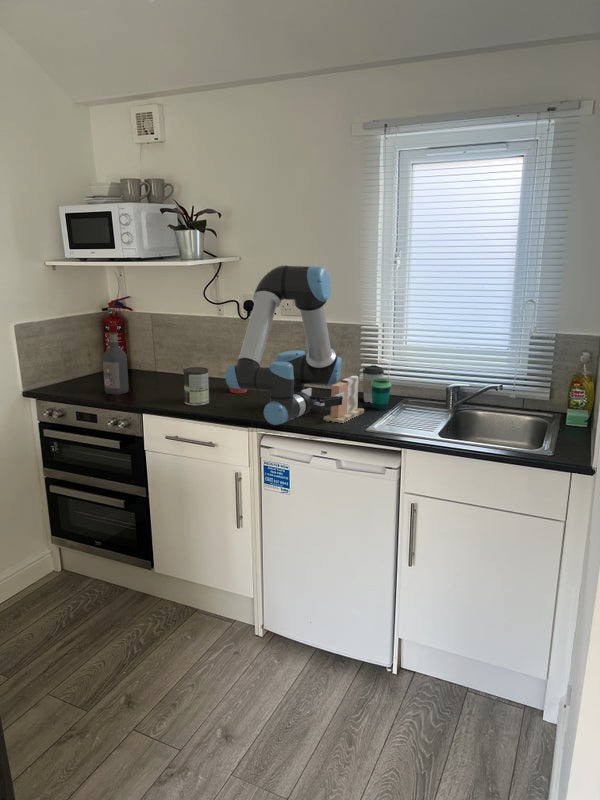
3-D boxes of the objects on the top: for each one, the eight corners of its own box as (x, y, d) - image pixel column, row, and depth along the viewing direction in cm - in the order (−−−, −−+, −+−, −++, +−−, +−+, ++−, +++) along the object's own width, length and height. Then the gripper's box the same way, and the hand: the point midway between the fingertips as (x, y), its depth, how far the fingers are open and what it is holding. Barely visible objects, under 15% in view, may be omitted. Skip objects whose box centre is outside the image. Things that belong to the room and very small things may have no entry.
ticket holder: (342, 423, 230) (343, 385, 226) (323, 420, 233) (324, 383, 230) (363, 412, 245) (365, 377, 242) (345, 409, 249) (347, 374, 246)
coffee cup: (381, 404, 259) (383, 369, 255) (360, 402, 261) (361, 368, 257) (383, 399, 267) (384, 365, 264) (362, 397, 269) (363, 364, 266)
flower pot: (247, 388, 285) (246, 367, 283) (252, 393, 275) (252, 372, 273) (224, 389, 282) (224, 368, 280) (229, 395, 272) (229, 373, 269)
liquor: (117, 395, 269) (112, 326, 261) (101, 392, 273) (97, 325, 266) (131, 391, 276) (128, 324, 269) (116, 388, 281) (112, 323, 273)
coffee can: (179, 403, 256) (178, 370, 253) (194, 398, 265) (193, 366, 262) (199, 406, 252) (198, 372, 248) (214, 401, 261) (213, 368, 257)
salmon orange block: (338, 417, 231) (339, 386, 228) (330, 416, 233) (331, 385, 230) (346, 413, 237) (347, 383, 234) (339, 412, 239) (339, 382, 236)
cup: (390, 406, 255) (392, 378, 252) (389, 411, 247) (390, 382, 244) (371, 405, 257) (372, 377, 254) (369, 410, 249) (370, 381, 246)
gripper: (265, 410, 213) (297, 399, 231) (329, 421, 201) (357, 408, 219) (265, 389, 211) (297, 379, 229) (330, 398, 199) (358, 387, 217)
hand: (326, 393), depth 224 cm, fingers open, 13 cm apart
